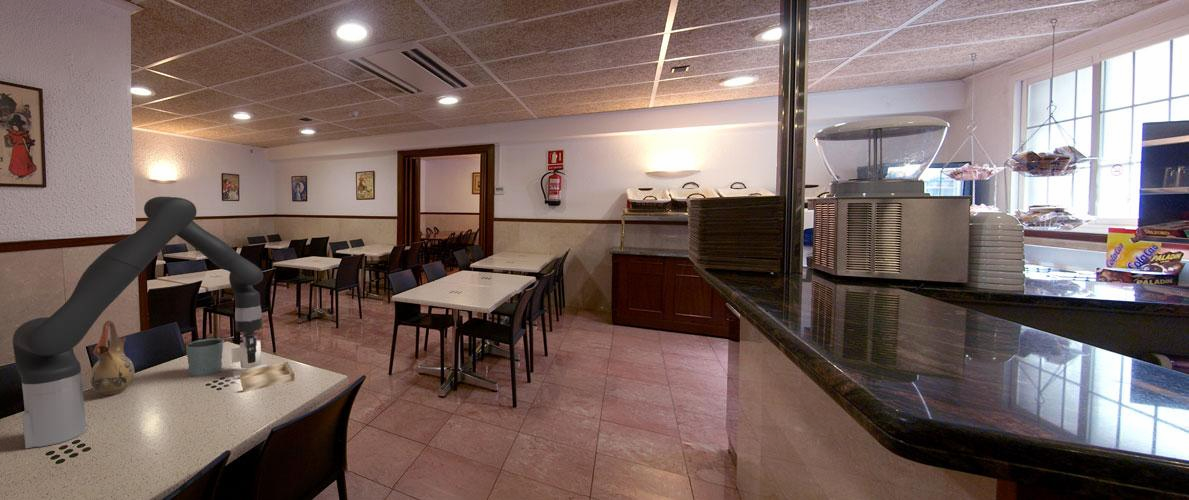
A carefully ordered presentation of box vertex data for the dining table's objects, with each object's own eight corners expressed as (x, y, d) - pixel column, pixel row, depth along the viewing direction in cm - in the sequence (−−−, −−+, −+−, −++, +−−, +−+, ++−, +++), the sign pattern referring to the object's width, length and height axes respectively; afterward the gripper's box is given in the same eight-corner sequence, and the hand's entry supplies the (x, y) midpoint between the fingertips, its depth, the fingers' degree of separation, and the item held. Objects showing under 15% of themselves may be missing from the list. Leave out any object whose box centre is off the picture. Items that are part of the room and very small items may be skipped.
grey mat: (234, 381, 140) (234, 379, 140) (232, 372, 147) (232, 371, 147) (270, 373, 148) (269, 372, 148) (266, 365, 154) (266, 364, 154)
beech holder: (243, 393, 132) (243, 385, 131) (240, 379, 142) (239, 371, 142) (294, 381, 142) (294, 373, 141) (287, 369, 152) (287, 362, 152)
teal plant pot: (196, 369, 149) (194, 339, 148) (229, 366, 153) (228, 337, 152) (181, 380, 140) (179, 348, 138) (217, 376, 144) (216, 345, 143)
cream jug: (232, 371, 141) (231, 347, 140) (231, 366, 145) (230, 343, 144) (262, 365, 147) (261, 342, 146) (260, 360, 151) (259, 338, 150)
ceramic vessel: (125, 398, 125) (119, 325, 123) (81, 406, 120) (74, 329, 117) (142, 380, 138) (137, 313, 136) (103, 386, 133) (97, 316, 130)
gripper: (233, 315, 147) (236, 357, 149) (236, 323, 138) (239, 368, 139) (259, 312, 153) (261, 352, 155) (264, 320, 143) (266, 363, 145)
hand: (250, 359), depth 147 cm, fingers closed on cream jug, 6 cm apart
